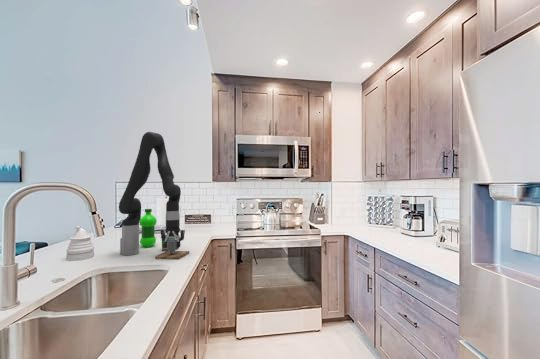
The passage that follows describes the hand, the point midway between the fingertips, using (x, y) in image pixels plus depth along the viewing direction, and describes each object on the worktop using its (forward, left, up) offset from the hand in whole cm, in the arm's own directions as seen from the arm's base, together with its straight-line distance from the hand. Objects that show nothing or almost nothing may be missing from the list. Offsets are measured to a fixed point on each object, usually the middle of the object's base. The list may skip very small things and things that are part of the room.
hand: (172, 247), depth 156 cm
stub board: (0, 0, -5) cm, 5 cm away
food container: (-9, +16, -5) cm, 19 cm away
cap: (0, 0, -1) cm, 1 cm away
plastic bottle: (-28, +22, -5) cm, 36 cm away
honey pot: (-51, -8, -5) cm, 52 cm away
